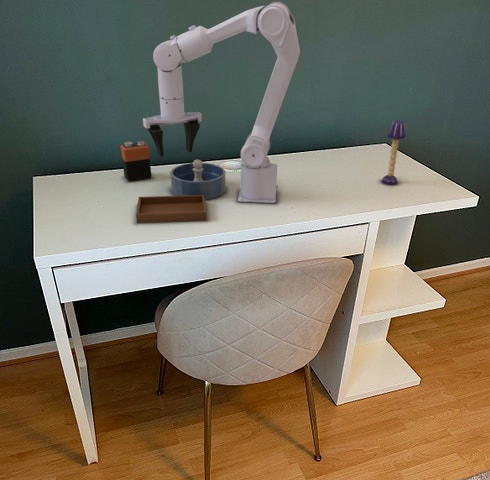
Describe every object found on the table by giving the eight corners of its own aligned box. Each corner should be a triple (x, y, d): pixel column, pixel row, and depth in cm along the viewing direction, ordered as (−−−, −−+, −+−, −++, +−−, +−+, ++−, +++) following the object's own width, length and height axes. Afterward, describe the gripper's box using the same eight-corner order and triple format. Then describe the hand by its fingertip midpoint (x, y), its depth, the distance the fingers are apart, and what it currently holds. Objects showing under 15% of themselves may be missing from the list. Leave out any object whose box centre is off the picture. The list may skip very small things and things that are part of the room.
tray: (204, 202, 127) (204, 194, 125) (206, 220, 118) (206, 212, 117) (139, 204, 125) (138, 196, 124) (136, 223, 116) (135, 214, 115)
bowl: (227, 180, 139) (227, 163, 136) (222, 201, 127) (222, 183, 124) (176, 179, 140) (175, 161, 137) (167, 199, 128) (165, 181, 125)
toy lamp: (378, 183, 139) (388, 122, 130) (381, 177, 143) (391, 118, 134) (395, 186, 138) (407, 124, 129) (398, 180, 142) (409, 120, 132)
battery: (124, 176, 140) (119, 141, 135) (147, 173, 143) (144, 138, 137) (127, 182, 137) (123, 146, 131) (152, 178, 140) (148, 143, 134)
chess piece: (202, 184, 136) (201, 155, 131) (210, 190, 133) (210, 160, 128) (186, 187, 134) (185, 158, 129) (194, 193, 130) (193, 164, 126)
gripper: (193, 90, 125) (195, 144, 133) (136, 96, 119) (142, 152, 127) (204, 96, 120) (206, 152, 127) (146, 103, 114) (151, 161, 122)
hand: (175, 153), depth 127 cm, fingers open, 7 cm apart
